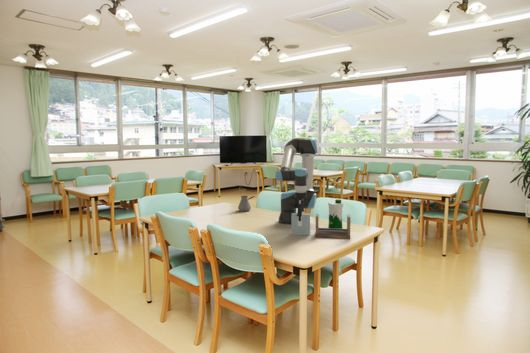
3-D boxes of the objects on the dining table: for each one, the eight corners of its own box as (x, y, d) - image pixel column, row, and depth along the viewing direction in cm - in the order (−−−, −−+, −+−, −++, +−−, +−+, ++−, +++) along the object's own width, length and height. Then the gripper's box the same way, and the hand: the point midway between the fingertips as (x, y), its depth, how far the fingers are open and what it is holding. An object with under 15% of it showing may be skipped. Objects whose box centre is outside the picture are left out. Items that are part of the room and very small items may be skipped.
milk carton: (344, 228, 256) (344, 200, 254) (333, 230, 253) (333, 201, 251) (337, 225, 264) (337, 198, 262) (326, 227, 261) (326, 199, 259)
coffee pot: (235, 210, 321) (235, 193, 319) (246, 208, 328) (246, 192, 326) (249, 214, 304) (248, 196, 302) (260, 212, 311) (260, 195, 309)
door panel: (291, 233, 246) (291, 213, 244) (309, 234, 244) (309, 213, 242) (291, 234, 243) (291, 214, 241) (309, 235, 241) (309, 214, 239)
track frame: (316, 232, 247) (316, 213, 246) (349, 233, 243) (349, 213, 242) (315, 237, 236) (315, 217, 234) (350, 238, 232) (350, 218, 230)
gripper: (296, 189, 253) (296, 219, 255) (293, 194, 228) (293, 227, 230) (307, 189, 251) (307, 219, 253) (305, 194, 227) (305, 228, 229)
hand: (300, 223), depth 242 cm, fingers open, 13 cm apart
